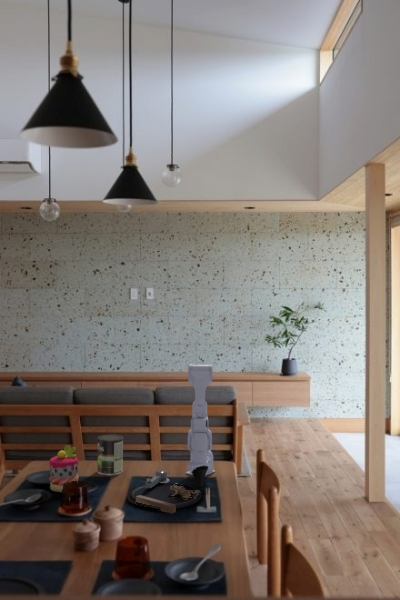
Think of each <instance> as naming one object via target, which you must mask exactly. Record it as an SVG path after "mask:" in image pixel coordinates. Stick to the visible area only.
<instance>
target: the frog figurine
mask: <svg viewBox="0 0 400 600" xmlns="http://www.w3.org/2000/svg"><path fill="white" fill-rule="evenodd" d="M175 484H176V483H175ZM175 484H173V485H170V486H169V490H170V491H174V492H173V494H171V496H175V495H176V496H177V495H178V494H180V495H183V496H182V497H181V498H183V499H184V498H191V497H190V496H191V494H190V493H192V494H195V493H197V492H200V493H201V491H200V490H199V489H197V490H192V489H190V490H189V489H186V487H184V485H183V486H177V485H175ZM193 491H195V492H193Z"/></svg>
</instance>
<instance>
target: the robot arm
mask: <svg viewBox="0 0 400 600" xmlns="http://www.w3.org/2000/svg"><path fill="white" fill-rule="evenodd" d="M213 368H214V366H213V365H212V364H191V363H189V364H188V365H187V378H188V380H187V381H188V383H189V384H188V385H191V386H193V388H194V401H193V402H192V406H191V410H192V411H191V419H190V429H189V430H188V431H187V447H186V448H187V450H188V451H189V452H190V460H189V461H188V462H189V463H188V465H186V472H185V474H187V475H190V476H193V479H194V483H195V487H200V488H201V487H203V485H204V481H205V477H206V476H208V475H210V474H212V473H215V472H216V470H214V454H213V452H212V449H213V435H212V430H210V429H209V416H208V402H207V401H206V389H207V387H208V386H209V385H212V382H213V378H214V377H213V373H214V372H213Z"/></svg>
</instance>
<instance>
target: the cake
mask: <svg viewBox="0 0 400 600" xmlns="http://www.w3.org/2000/svg"><path fill="white" fill-rule="evenodd" d="M63 449H64V450H63ZM63 449H61V450H59V451H58V452H57V455H55V456H53V457H50V459H49V469H50V471H49V472H50V477H49V478H48V480H49V481H50V483H49V484H50V486H49V488H50V490H51V491H53V492H57V493H63V492H62V489H63V484H64V483H67V482H71V481H77V482H78V481H79V477H80V476H79V474H78V473H79V470H78V465H79V464H78V463H79V460H78V458H77V454H75V452H76V447H75V446H72V447H71V446H70V445H65V446H64V448H63Z"/></svg>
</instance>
